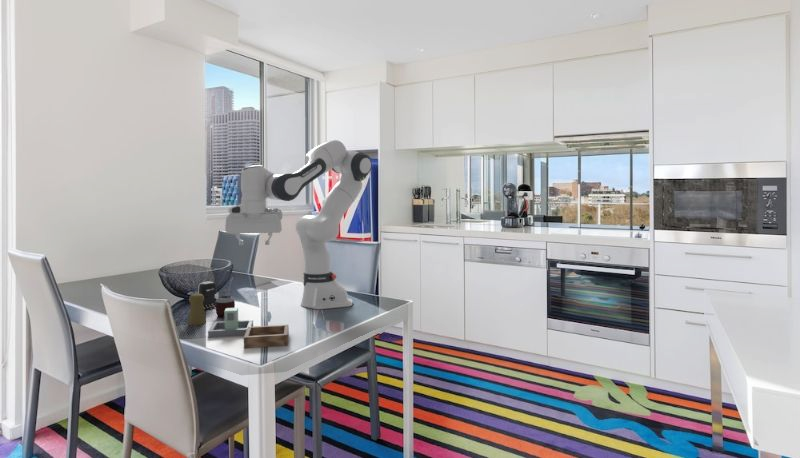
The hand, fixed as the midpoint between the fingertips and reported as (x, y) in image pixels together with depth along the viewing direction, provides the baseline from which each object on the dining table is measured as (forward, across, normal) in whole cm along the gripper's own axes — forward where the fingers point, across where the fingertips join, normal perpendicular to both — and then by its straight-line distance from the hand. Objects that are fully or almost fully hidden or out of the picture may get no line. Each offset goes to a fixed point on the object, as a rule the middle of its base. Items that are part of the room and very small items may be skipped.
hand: (254, 244), depth 170 cm
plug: (+29, +7, +13) cm, 33 cm away
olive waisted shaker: (+29, +21, 0) cm, 36 cm away
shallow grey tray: (+29, +7, +13) cm, 33 cm away
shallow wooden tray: (+29, -6, +26) cm, 39 cm away
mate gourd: (+29, +12, -7) cm, 32 cm away
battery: (+29, +21, -20) cm, 41 cm away
